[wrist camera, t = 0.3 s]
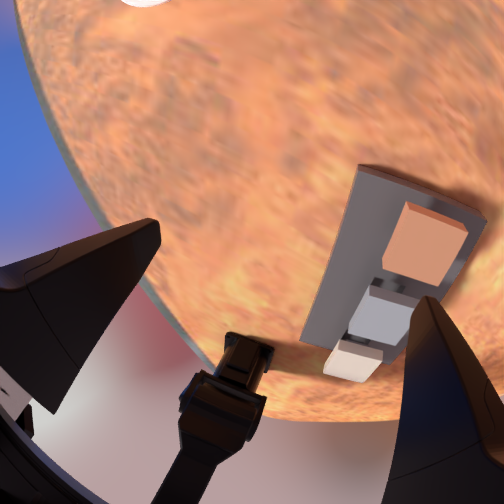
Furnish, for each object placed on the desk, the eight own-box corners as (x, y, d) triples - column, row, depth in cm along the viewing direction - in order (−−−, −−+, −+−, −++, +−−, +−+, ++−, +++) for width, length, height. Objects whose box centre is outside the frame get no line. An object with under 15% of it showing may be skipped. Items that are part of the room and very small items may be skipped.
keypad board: (390, 354, 28) (389, 364, 26) (302, 330, 30) (299, 340, 29) (480, 212, 16) (487, 221, 15) (357, 164, 18) (358, 170, 17)
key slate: (395, 325, 22) (395, 345, 20) (350, 313, 23) (347, 333, 21) (418, 290, 19) (421, 310, 17) (369, 275, 20) (369, 295, 18)
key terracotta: (432, 266, 18) (437, 286, 16) (381, 249, 18) (382, 268, 17) (458, 215, 15) (468, 232, 13) (403, 194, 16) (409, 209, 14)
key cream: (364, 365, 26) (362, 383, 24) (326, 355, 27) (322, 373, 25) (383, 341, 23) (382, 361, 22) (341, 330, 24) (337, 349, 23)
